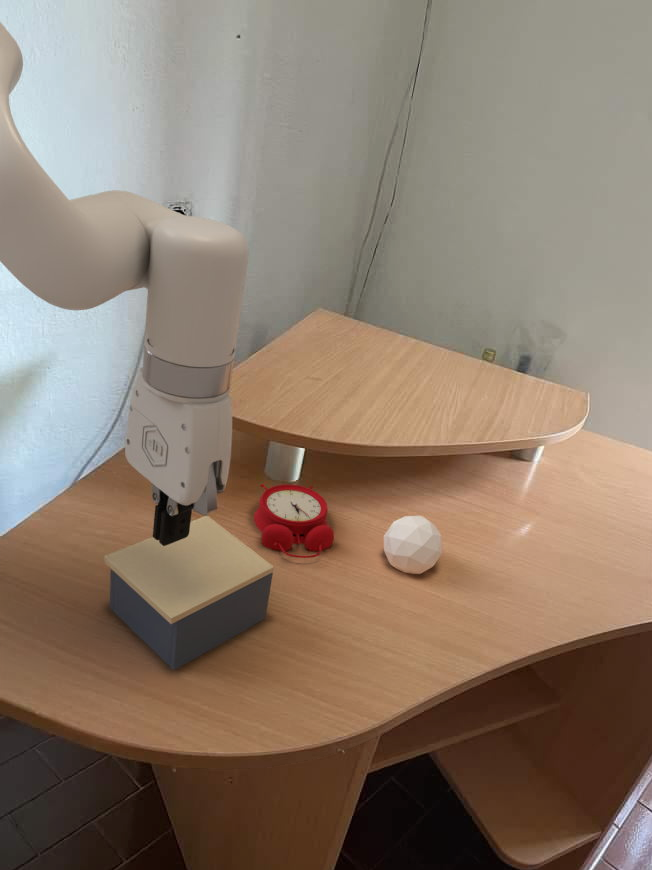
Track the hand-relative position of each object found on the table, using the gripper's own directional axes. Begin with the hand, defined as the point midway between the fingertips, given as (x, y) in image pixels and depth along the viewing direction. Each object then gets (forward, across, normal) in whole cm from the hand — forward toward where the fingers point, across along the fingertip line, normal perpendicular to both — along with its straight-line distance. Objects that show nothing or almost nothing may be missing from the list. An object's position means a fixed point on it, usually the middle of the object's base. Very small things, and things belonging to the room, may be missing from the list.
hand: (170, 537), depth 69 cm
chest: (+12, +1, +3) cm, 13 cm away
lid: (+5, +1, +2) cm, 5 cm away
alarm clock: (+12, -4, +24) cm, 27 cm away
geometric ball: (+12, +10, +32) cm, 36 cm away
